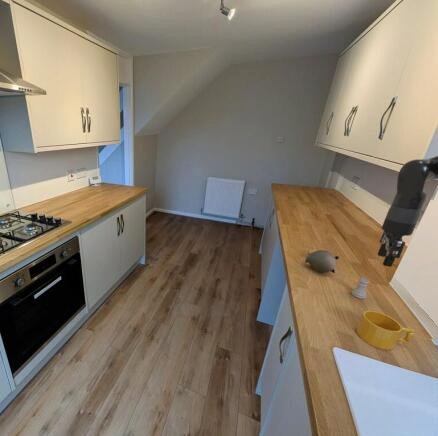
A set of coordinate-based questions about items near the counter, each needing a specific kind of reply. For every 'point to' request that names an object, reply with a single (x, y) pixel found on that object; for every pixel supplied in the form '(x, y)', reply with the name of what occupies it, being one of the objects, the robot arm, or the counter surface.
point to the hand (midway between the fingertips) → (383, 260)
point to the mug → (381, 330)
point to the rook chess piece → (361, 288)
